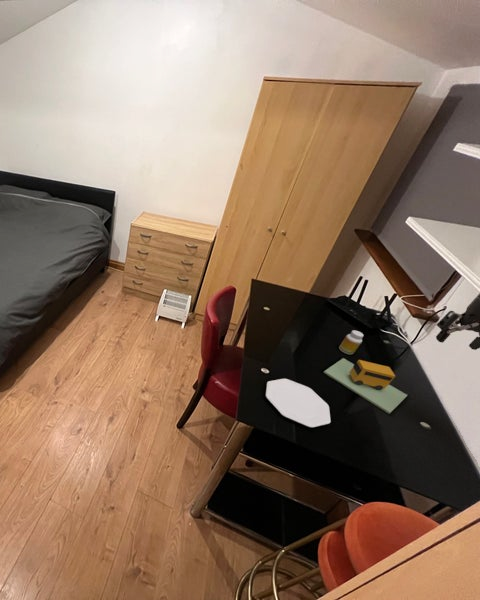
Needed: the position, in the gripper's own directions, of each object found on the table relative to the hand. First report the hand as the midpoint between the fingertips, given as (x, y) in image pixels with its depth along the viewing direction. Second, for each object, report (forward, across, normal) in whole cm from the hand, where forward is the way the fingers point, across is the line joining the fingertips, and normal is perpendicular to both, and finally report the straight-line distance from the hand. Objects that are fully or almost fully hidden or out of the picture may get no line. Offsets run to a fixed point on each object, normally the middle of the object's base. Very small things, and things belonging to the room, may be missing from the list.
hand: (455, 344), depth 101 cm
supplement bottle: (+28, -9, +26) cm, 40 cm away
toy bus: (+27, -10, +6) cm, 30 cm away
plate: (+28, -38, -15) cm, 50 cm away
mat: (+28, -10, +6) cm, 30 cm away
